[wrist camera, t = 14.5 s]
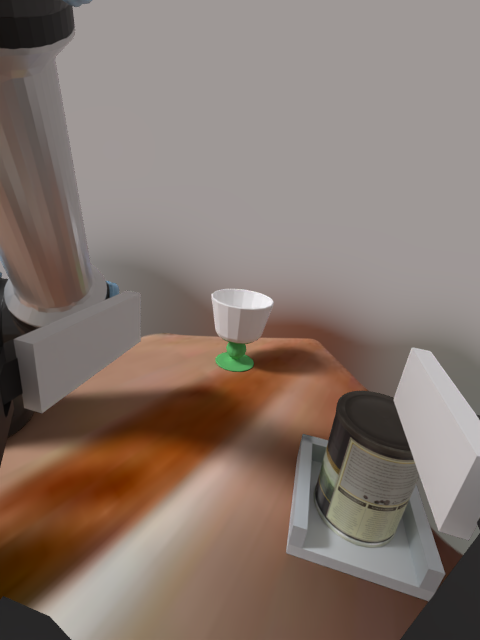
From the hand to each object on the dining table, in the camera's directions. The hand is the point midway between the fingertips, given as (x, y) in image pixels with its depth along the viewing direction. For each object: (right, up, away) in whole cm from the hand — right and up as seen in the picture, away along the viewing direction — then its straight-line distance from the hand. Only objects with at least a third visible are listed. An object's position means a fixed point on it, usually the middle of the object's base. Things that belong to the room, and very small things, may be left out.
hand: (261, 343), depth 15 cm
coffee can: (+13, -23, +25) cm, 37 cm away
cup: (-2, -9, +60) cm, 61 cm away
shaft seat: (+14, -23, +30) cm, 40 cm away
